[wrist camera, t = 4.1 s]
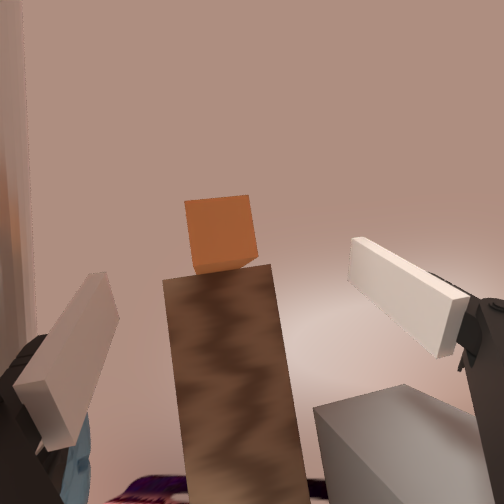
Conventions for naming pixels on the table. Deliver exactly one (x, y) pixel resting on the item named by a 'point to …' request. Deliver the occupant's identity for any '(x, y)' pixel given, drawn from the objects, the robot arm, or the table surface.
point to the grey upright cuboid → (401, 450)
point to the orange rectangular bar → (220, 233)
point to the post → (234, 389)
